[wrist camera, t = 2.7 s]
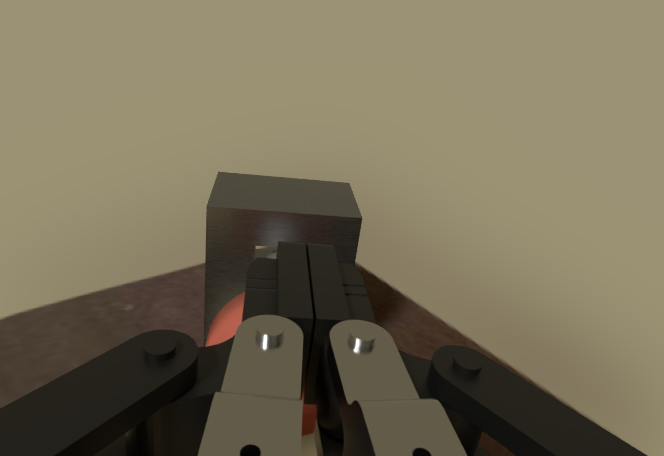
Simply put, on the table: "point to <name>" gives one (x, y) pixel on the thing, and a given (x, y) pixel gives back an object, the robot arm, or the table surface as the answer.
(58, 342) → the table surface
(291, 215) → the grey box with base
